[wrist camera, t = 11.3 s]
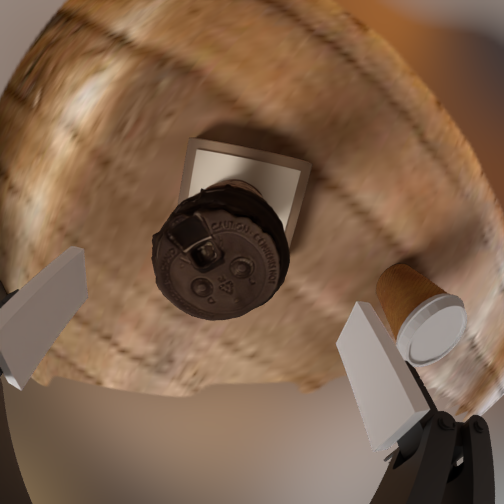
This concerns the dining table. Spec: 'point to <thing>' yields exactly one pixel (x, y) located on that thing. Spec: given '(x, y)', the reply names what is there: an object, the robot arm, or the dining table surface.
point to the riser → (248, 175)
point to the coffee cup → (221, 252)
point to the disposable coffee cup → (420, 315)
